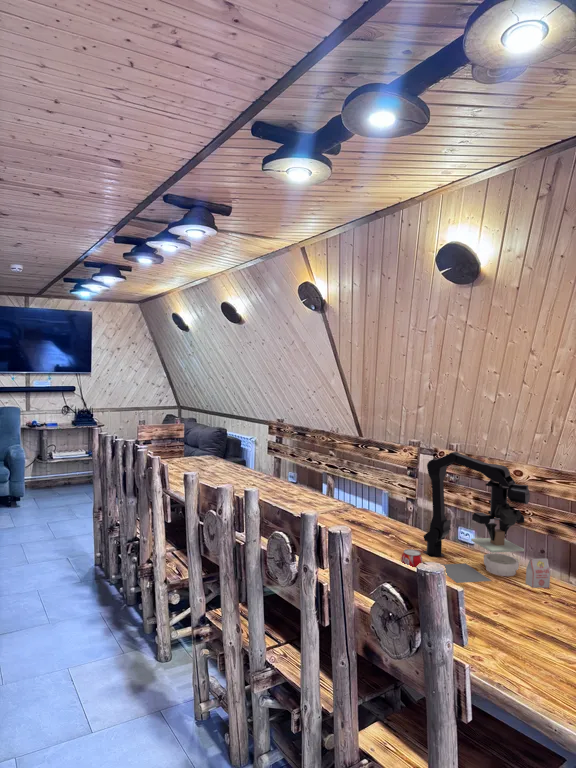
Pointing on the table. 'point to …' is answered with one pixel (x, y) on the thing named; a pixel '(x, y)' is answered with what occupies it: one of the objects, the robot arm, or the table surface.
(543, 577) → the white gabled carton
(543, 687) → the table surface
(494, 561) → the bowl
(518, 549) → the lid
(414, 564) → the soda can
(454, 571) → the mat
